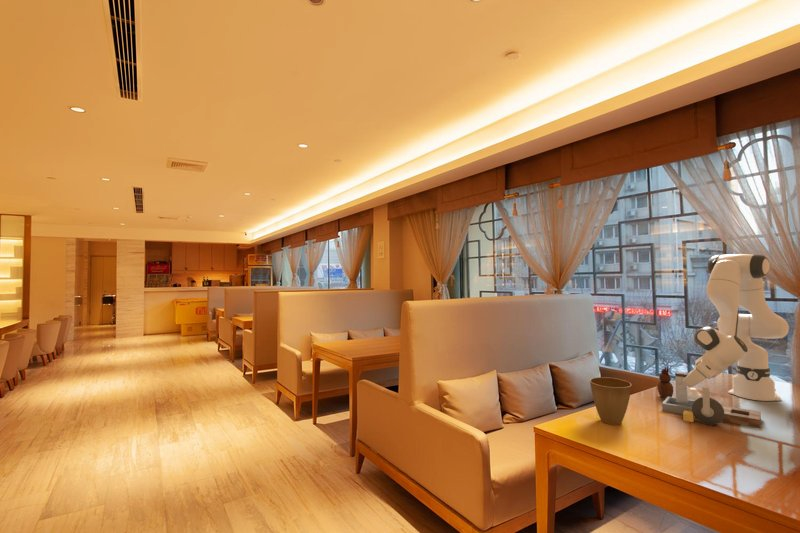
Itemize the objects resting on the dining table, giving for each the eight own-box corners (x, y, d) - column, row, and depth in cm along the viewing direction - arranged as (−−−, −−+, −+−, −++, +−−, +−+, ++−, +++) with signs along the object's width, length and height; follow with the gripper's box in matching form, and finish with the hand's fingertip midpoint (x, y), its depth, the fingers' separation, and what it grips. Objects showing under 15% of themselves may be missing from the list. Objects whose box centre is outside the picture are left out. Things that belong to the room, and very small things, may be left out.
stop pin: (677, 399, 178) (676, 371, 178) (688, 401, 175) (688, 373, 175) (676, 401, 175) (675, 373, 175) (687, 403, 172) (686, 374, 172)
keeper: (722, 412, 170) (722, 405, 170) (760, 419, 162) (760, 411, 162) (719, 420, 162) (719, 413, 162) (759, 427, 153) (759, 419, 153)
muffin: (699, 406, 179) (699, 390, 180) (683, 403, 184) (682, 387, 184) (703, 403, 183) (702, 387, 184) (687, 400, 188) (686, 385, 188)
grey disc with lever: (685, 417, 165) (683, 380, 166) (725, 425, 156) (723, 386, 157) (682, 422, 160) (681, 384, 161) (723, 430, 152) (722, 389, 152)
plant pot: (582, 418, 166) (581, 379, 166) (608, 413, 172) (607, 375, 172) (614, 431, 152) (613, 388, 153) (641, 425, 158) (640, 384, 158)
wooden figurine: (675, 399, 189) (674, 367, 189) (662, 399, 190) (661, 367, 190) (669, 395, 195) (668, 364, 196) (655, 395, 196) (655, 364, 197)
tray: (668, 403, 184) (667, 396, 184) (703, 409, 175) (703, 402, 175) (662, 410, 174) (662, 403, 174) (699, 417, 166) (699, 409, 166)
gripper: (704, 357, 178) (678, 376, 185) (697, 364, 163) (669, 385, 170) (717, 368, 175) (690, 387, 181) (711, 377, 160) (682, 397, 166)
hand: (680, 386), depth 175 cm, fingers closed on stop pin, 4 cm apart
